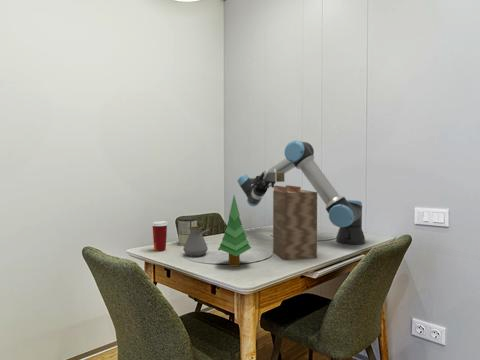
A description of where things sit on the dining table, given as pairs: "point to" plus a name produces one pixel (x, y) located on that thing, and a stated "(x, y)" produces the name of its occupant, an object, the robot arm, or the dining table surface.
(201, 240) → the coffee pot
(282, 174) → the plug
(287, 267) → the dining table surface
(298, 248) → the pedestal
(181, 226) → the coffee can
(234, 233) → the decorative tree
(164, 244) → the paper cup
